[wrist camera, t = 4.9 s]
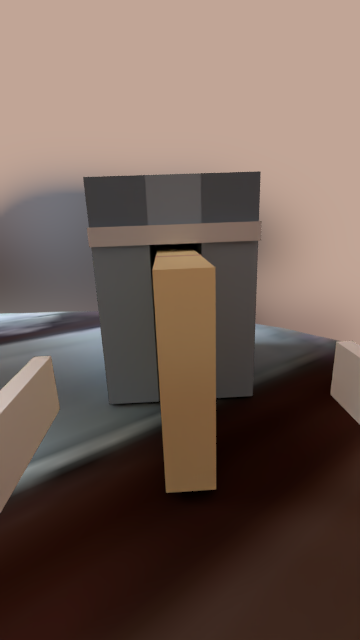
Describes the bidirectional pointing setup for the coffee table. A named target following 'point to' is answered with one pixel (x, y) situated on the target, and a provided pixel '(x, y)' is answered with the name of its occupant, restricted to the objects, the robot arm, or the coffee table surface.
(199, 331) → the taped cardboard box
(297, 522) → the coffee table surface
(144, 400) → the dispenser
